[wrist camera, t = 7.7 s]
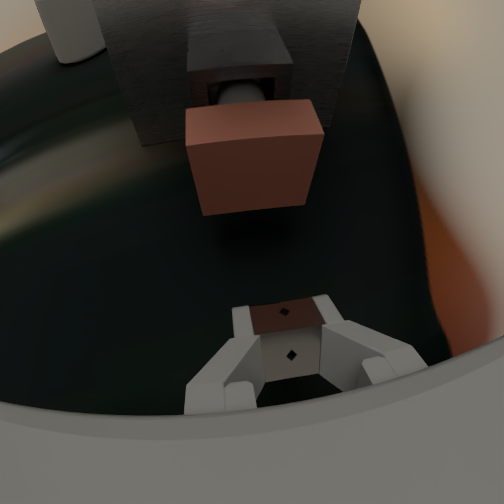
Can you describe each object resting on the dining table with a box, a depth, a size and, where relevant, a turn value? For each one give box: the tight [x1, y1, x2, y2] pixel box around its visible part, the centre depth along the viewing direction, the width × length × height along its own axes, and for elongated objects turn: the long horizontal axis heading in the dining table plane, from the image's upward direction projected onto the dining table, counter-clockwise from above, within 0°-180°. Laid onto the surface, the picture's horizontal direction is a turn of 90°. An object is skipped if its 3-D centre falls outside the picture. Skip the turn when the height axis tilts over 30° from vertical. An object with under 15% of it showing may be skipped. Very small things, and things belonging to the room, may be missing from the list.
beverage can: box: [35, 0, 106, 63], centre depth 23 cm, size 8×8×12 cm
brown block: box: [186, 78, 324, 216], centre depth 13 cm, size 5×6×5 cm
